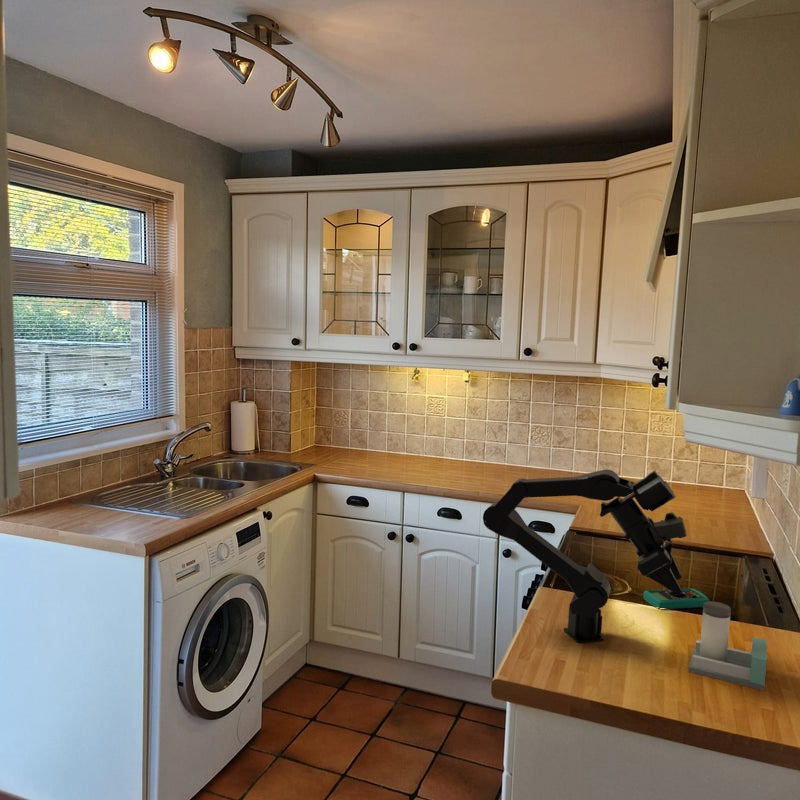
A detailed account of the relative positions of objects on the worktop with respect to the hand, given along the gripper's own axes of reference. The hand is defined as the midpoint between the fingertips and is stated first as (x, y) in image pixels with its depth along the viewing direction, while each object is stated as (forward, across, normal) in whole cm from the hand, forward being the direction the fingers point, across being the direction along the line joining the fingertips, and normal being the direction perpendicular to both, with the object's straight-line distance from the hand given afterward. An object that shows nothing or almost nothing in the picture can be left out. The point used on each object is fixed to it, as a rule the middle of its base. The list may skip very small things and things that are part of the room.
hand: (679, 585), depth 140 cm
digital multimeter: (+12, +31, +10) cm, 34 cm away
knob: (+15, -3, +3) cm, 15 cm away
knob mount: (+18, -3, +2) cm, 18 cm away
